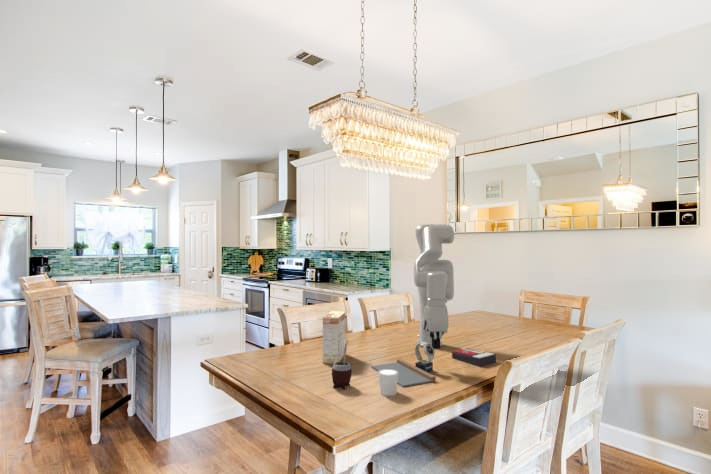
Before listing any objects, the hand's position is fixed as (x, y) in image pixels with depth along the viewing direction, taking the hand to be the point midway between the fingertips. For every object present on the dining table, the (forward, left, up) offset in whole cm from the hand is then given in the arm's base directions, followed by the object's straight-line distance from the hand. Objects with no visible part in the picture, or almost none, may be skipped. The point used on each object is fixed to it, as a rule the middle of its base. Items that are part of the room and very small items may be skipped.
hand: (436, 348), depth 157 cm
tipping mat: (0, -16, -8) cm, 18 cm away
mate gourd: (+2, -42, -8) cm, 43 cm away
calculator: (-3, +22, -9) cm, 24 cm away
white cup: (+14, -30, -8) cm, 34 cm away
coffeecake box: (-30, -32, -8) cm, 45 cm away
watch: (0, -6, -8) cm, 10 cm away
